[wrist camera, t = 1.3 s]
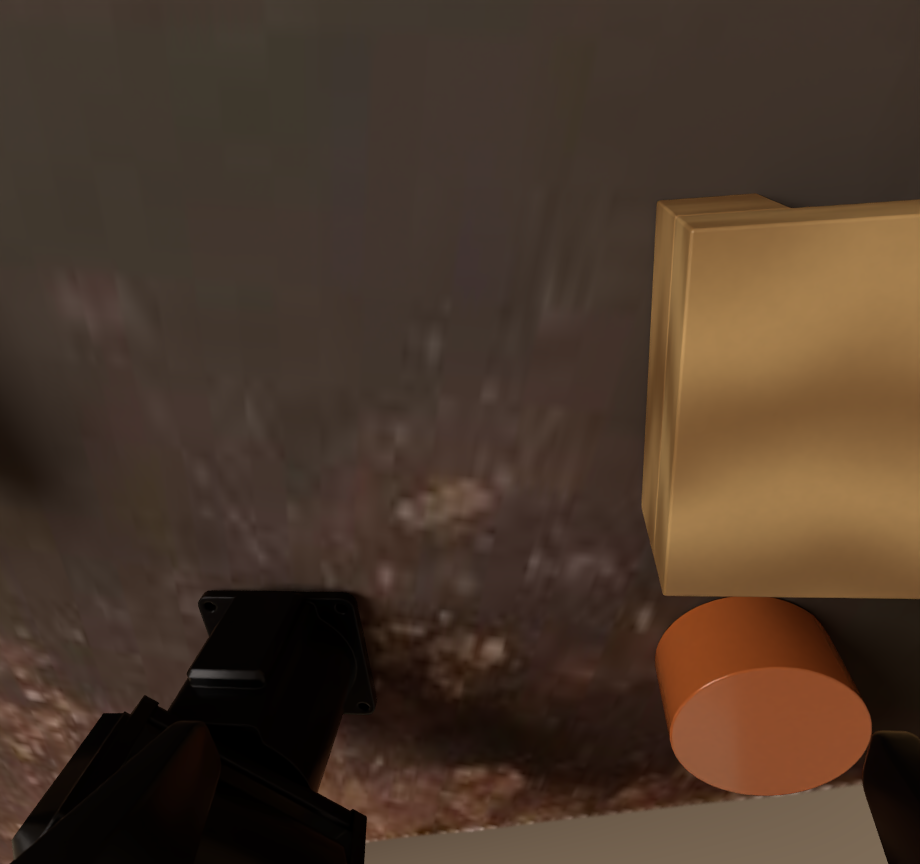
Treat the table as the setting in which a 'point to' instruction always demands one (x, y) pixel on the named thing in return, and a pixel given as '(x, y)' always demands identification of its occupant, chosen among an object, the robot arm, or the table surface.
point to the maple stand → (784, 399)
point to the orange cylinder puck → (759, 697)
